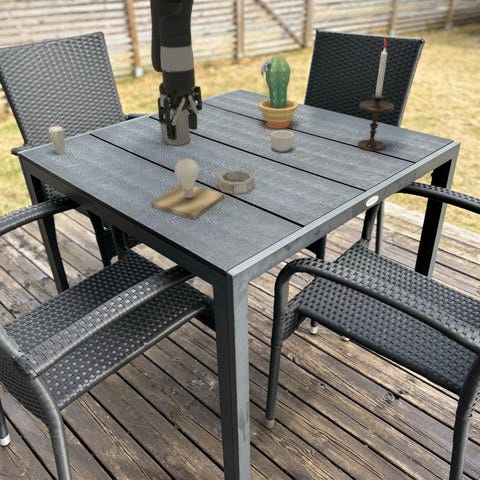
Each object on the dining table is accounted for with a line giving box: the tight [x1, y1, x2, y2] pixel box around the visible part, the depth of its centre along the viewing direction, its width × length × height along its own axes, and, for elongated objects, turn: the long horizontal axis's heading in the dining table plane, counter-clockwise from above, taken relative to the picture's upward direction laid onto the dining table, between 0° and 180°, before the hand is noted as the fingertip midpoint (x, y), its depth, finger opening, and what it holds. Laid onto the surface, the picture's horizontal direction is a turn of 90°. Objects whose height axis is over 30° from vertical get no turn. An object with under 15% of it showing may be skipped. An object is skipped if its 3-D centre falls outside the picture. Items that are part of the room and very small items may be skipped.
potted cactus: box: [257, 55, 299, 129], centre depth 175 cm, size 15×15×25 cm
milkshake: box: [48, 121, 67, 155], centre depth 156 cm, size 5×5×10 cm
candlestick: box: [357, 37, 395, 152], centre depth 150 cm, size 11×11×35 cm
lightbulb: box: [174, 157, 200, 198], centre depth 122 cm, size 6×6×11 cm
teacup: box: [270, 129, 295, 153], centre depth 158 cm, size 10×8×5 cm
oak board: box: [151, 184, 225, 220], centre depth 125 cm, size 14×14×1 cm
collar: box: [217, 169, 256, 195], centre depth 133 cm, size 10×10×3 cm
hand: (183, 134), depth 116 cm, fingers open, 8 cm apart
